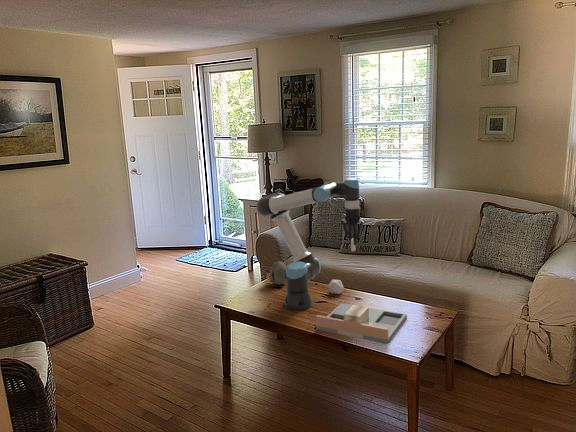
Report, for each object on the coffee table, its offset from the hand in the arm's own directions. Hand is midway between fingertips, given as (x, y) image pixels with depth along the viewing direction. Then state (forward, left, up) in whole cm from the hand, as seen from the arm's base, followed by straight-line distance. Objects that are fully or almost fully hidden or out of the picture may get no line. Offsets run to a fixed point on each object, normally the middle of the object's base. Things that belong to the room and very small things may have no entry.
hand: (353, 250), depth 247 cm
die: (-16, +10, -31) cm, 36 cm away
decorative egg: (-55, +10, -31) cm, 64 cm away
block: (+13, -30, -28) cm, 43 cm away
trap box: (+13, -22, -30) cm, 40 cm away
